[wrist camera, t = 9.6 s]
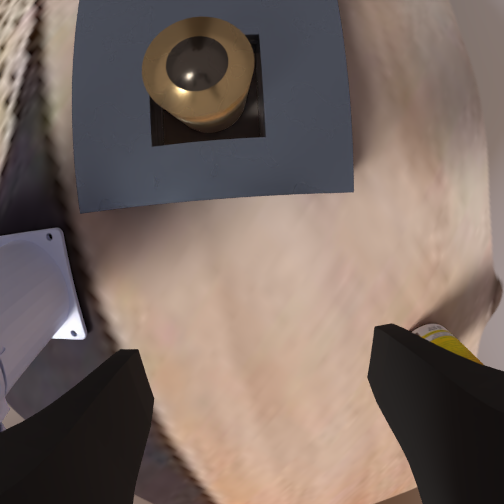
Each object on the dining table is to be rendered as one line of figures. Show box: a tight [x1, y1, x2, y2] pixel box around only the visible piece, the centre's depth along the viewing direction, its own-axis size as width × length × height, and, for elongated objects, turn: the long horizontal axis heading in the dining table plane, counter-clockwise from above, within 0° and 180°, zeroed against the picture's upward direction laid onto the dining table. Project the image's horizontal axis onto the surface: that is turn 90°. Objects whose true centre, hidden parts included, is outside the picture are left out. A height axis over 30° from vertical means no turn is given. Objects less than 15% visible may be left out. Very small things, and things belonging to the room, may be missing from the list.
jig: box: [72, 0, 354, 214], centre depth 13 cm, size 14×16×4 cm
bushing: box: [142, 17, 254, 133], centre depth 13 cm, size 4×4×7 cm
